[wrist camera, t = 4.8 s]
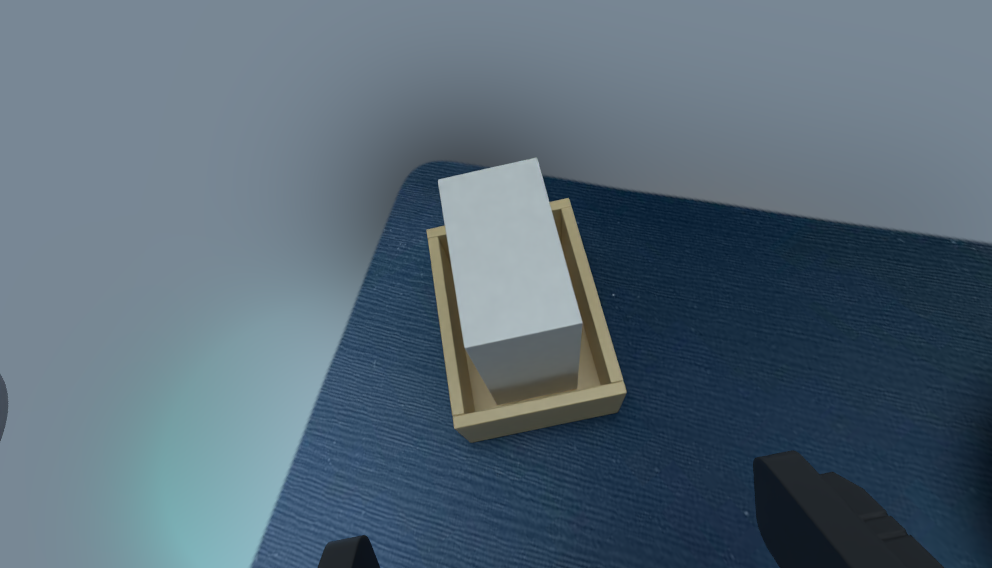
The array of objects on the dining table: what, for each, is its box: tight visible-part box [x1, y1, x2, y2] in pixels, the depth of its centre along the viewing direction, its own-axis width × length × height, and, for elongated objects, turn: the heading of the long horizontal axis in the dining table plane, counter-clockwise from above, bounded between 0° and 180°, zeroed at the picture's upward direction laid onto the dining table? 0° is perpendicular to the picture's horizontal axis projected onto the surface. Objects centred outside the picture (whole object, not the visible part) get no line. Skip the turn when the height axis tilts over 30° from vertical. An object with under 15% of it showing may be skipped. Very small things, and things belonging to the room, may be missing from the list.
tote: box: [427, 198, 627, 443], centre depth 28 cm, size 11×8×4 cm
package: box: [438, 158, 582, 405], centre depth 25 cm, size 8×5×10 cm, turn 10°
